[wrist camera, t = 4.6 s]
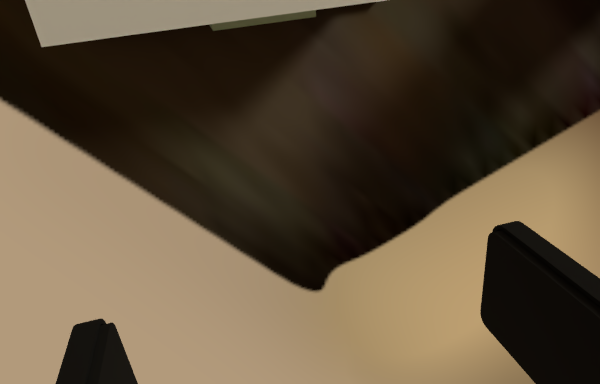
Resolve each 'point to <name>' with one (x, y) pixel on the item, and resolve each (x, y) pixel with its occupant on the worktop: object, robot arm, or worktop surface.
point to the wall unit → (160, 16)
